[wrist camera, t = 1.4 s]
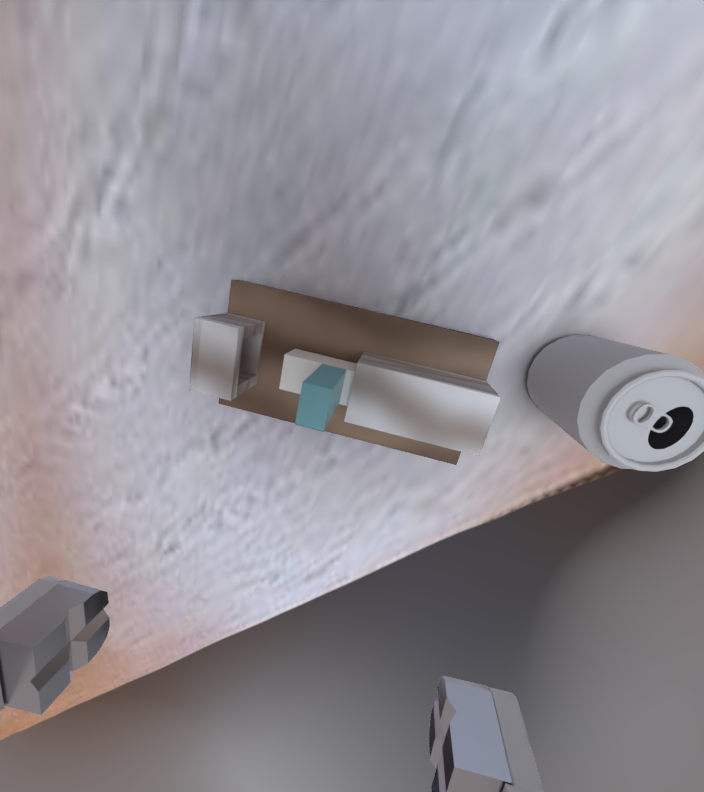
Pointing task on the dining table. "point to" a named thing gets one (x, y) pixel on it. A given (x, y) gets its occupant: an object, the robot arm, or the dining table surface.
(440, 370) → the brown board
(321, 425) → the white and teal block
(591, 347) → the can
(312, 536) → the dining table surface
